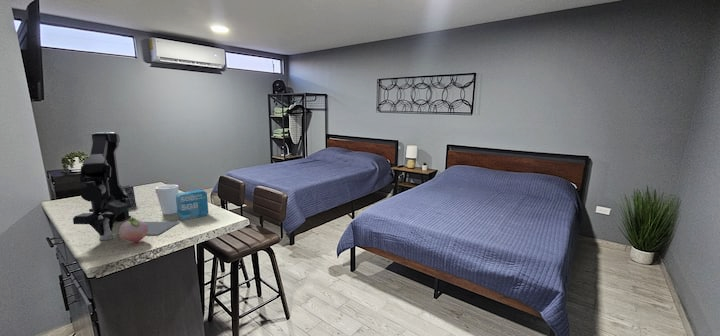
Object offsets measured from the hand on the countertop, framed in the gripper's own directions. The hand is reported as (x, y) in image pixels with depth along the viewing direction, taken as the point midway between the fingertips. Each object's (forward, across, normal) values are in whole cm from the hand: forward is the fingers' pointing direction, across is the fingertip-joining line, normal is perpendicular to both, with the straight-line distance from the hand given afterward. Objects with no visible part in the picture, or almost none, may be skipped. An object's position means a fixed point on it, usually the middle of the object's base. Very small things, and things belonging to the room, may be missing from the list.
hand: (106, 233), depth 116 cm
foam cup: (+2, +31, -5) cm, 31 cm away
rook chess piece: (+2, 0, 0) cm, 2 cm away
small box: (+2, +39, +25) cm, 46 cm away
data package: (+2, +25, -20) cm, 32 cm away
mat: (+2, +10, -10) cm, 14 cm away
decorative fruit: (+2, -4, -14) cm, 15 cm away
